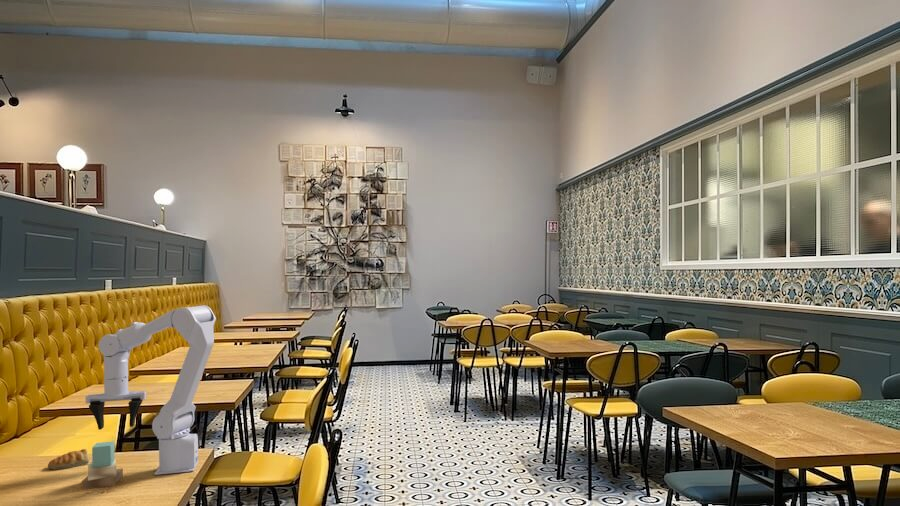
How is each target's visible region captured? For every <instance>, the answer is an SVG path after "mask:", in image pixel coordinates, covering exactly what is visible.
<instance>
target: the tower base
mask: <svg viewBox="0 0 900 506" xmlns="http://www.w3.org/2000/svg"><path fill="white" fill-rule="evenodd" d="M123 470H124V468H123V467H122V468H121V467H120V468H116V476H112V477H106V478H100V479H94V480H89V481H88V475H87V476H86V477H85V478H83V480H82V481H81V488H82V490H85V489H86V490H88V489H96V488H109V487H114V486H115V485H116V484H117V483H118V482H119V481H120V480H121V479H122V478H123V476H124V473H123Z"/></svg>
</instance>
